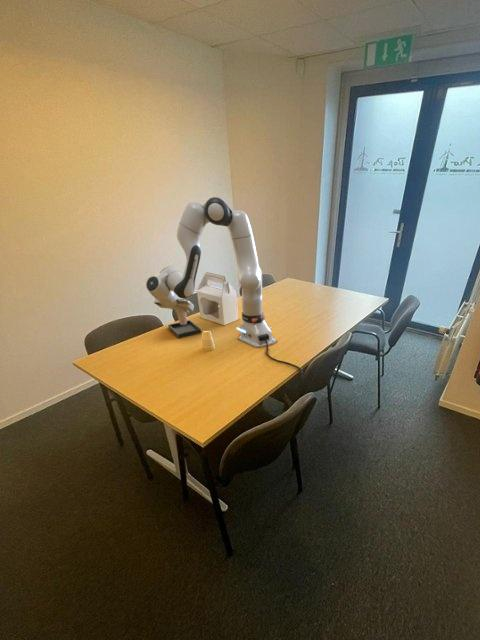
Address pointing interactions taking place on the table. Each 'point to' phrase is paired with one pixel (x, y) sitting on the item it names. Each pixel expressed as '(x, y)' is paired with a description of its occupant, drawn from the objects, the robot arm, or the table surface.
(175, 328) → the tray
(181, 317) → the smoothie
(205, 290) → the gable box
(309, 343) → the table surface
